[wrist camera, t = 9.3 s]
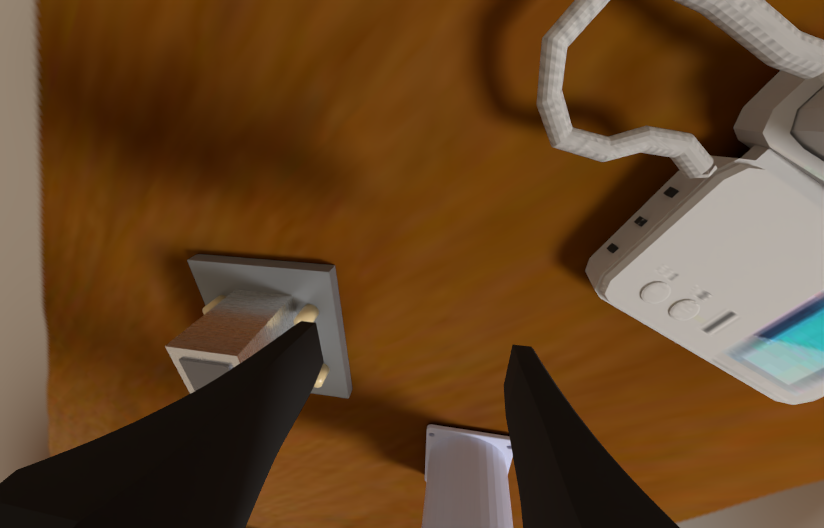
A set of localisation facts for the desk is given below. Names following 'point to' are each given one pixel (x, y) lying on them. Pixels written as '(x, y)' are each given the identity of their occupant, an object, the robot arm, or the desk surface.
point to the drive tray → (310, 295)
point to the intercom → (722, 211)
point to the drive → (230, 335)
